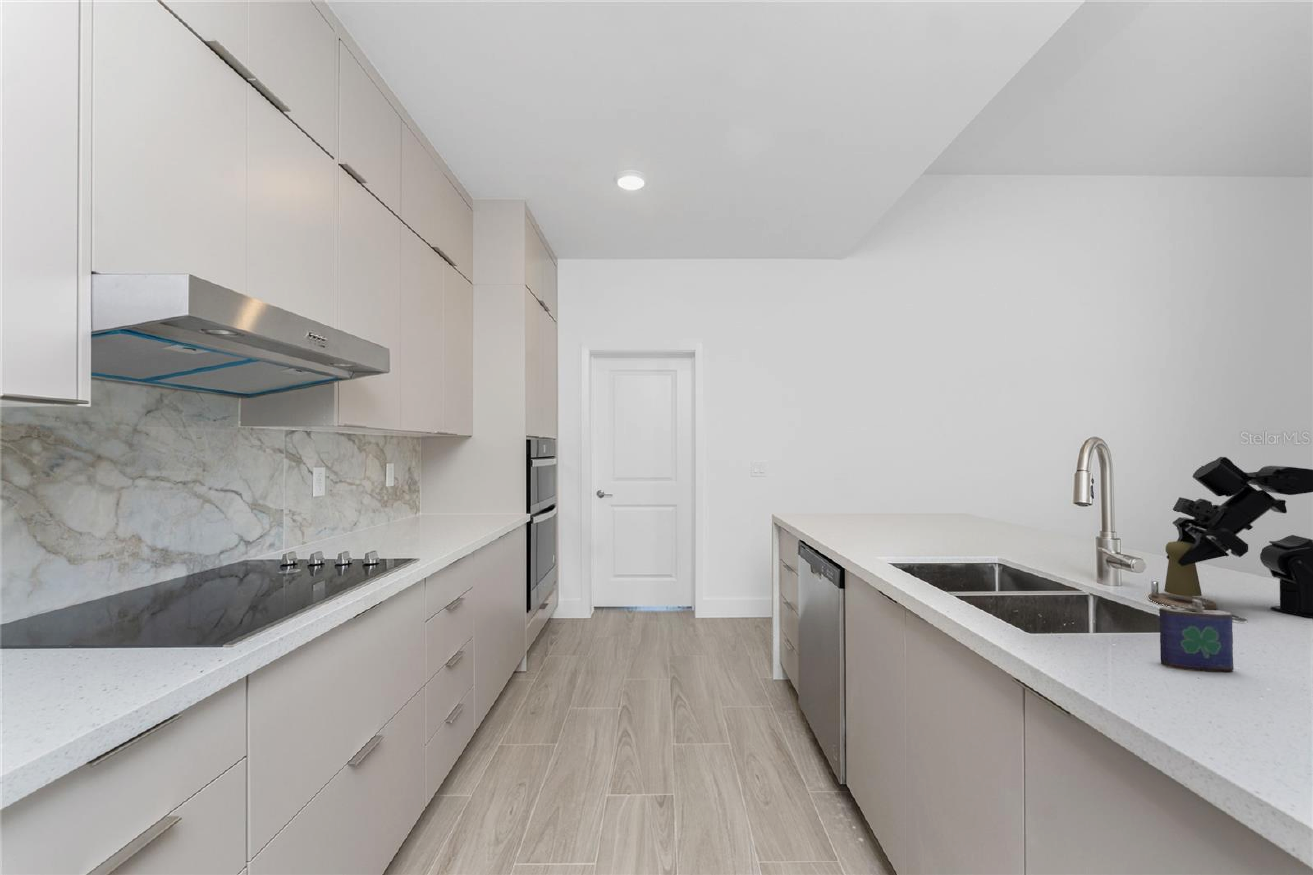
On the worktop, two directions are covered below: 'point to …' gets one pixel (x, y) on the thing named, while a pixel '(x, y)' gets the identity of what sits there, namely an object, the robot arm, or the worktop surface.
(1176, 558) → the cork
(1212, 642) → the flask
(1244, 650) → the worktop surface
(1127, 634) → the worktop surface
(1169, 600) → the walnut plate
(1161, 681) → the worktop surface
